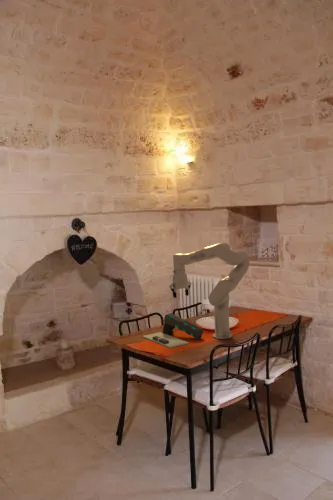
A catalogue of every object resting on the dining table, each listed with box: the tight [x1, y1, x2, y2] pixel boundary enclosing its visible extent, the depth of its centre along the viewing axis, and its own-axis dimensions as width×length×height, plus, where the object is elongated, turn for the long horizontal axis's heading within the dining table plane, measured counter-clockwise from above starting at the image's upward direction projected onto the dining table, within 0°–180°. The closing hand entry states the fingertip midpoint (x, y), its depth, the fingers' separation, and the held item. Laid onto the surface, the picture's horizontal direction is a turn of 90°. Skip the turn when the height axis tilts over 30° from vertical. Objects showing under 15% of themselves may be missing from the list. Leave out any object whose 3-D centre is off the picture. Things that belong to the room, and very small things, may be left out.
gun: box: [162, 312, 204, 340], centre depth 322 cm, size 7×29×15 cm, turn 50°
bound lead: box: [153, 336, 169, 344], centre depth 311 cm, size 15×4×2 cm, turn 33°
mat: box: [142, 331, 190, 349], centre depth 315 cm, size 34×14×1 cm, turn 33°
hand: (181, 296), depth 328 cm, fingers open, 9 cm apart
